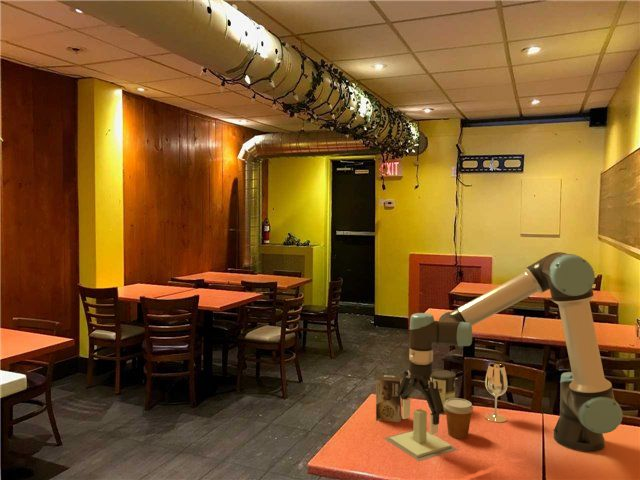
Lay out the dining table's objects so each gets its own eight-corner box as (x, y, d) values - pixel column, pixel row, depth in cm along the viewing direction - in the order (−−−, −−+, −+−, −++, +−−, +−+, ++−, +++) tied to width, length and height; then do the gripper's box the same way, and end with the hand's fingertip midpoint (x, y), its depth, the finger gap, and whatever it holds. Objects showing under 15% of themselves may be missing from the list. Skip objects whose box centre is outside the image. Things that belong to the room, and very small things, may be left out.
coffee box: (401, 418, 186) (402, 375, 186) (400, 425, 180) (400, 381, 179) (377, 415, 189) (377, 373, 188) (375, 422, 182) (375, 379, 182)
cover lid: (451, 447, 161) (451, 414, 160) (417, 457, 154) (417, 423, 153) (422, 431, 173) (422, 400, 172) (389, 439, 166) (389, 407, 165)
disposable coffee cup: (473, 444, 165) (474, 409, 164) (444, 442, 166) (444, 406, 166) (471, 432, 174) (471, 398, 173) (443, 430, 176) (443, 396, 175)
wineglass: (482, 413, 191) (483, 362, 190) (504, 414, 190) (505, 363, 189) (486, 422, 183) (487, 368, 182) (508, 423, 182) (510, 369, 181)
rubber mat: (457, 452, 159) (457, 449, 159) (418, 464, 152) (419, 461, 151) (420, 431, 175) (420, 428, 175) (383, 441, 167) (383, 438, 167)
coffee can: (451, 403, 201) (451, 369, 200) (458, 413, 191) (458, 377, 190) (425, 403, 201) (426, 369, 200) (431, 413, 191) (431, 377, 190)
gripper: (388, 353, 171) (386, 414, 172) (438, 373, 149) (437, 443, 150) (405, 350, 175) (404, 410, 176) (457, 370, 153) (455, 438, 154)
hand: (419, 425), depth 163 cm, fingers open, 13 cm apart
